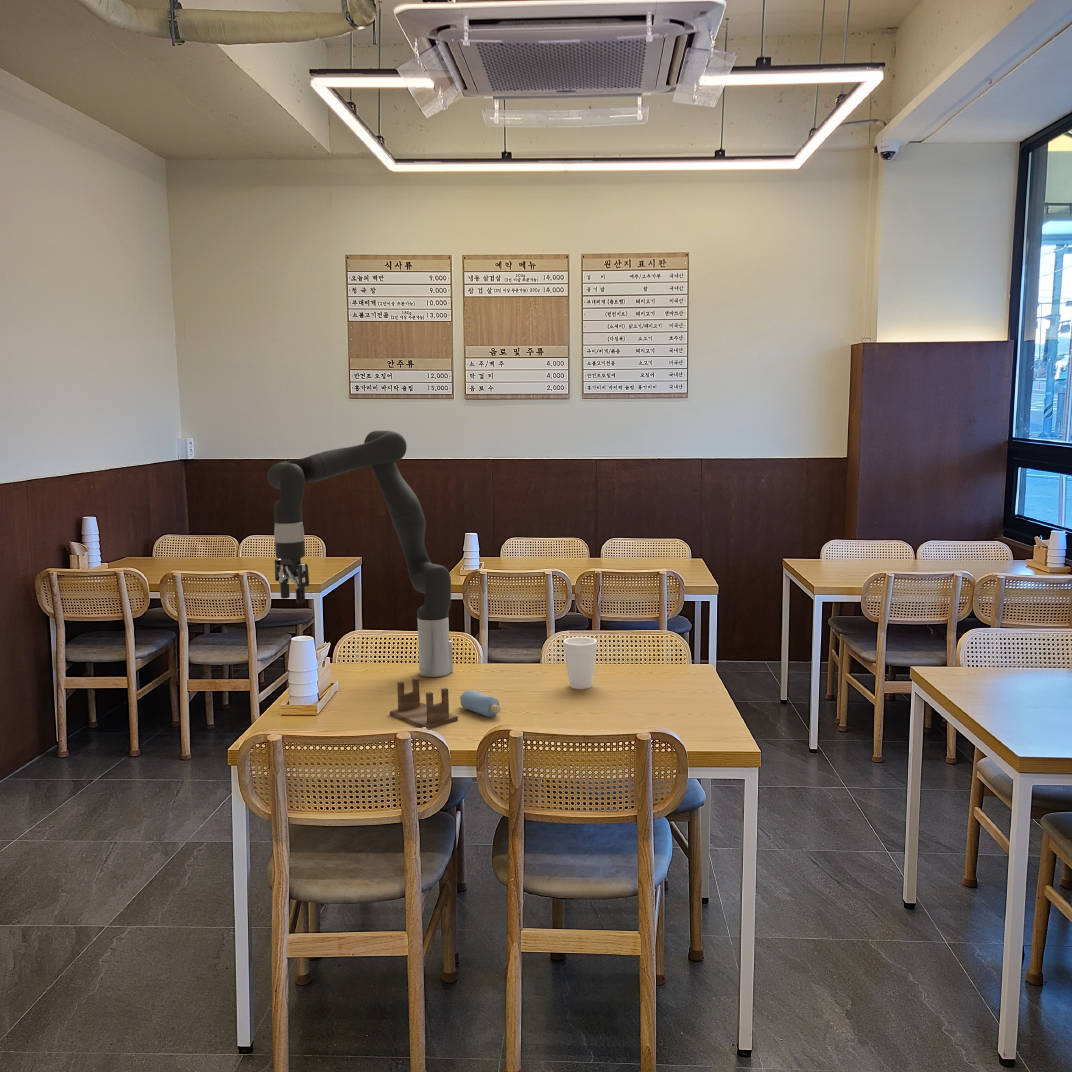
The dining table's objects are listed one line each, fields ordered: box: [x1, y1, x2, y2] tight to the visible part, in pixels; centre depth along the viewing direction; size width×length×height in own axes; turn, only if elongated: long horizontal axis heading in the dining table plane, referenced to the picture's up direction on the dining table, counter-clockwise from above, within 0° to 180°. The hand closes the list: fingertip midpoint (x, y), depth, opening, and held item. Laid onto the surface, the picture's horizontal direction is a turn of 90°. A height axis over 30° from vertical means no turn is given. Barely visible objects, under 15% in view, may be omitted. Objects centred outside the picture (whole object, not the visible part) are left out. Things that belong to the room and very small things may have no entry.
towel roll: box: [459, 689, 501, 718], centre depth 243 cm, size 14×5×5 cm, turn 42°
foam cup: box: [563, 636, 598, 690], centre depth 264 cm, size 10×9×13 cm
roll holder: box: [389, 677, 459, 729], centre depth 239 cm, size 16×10×8 cm, turn 42°
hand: (292, 600), depth 246 cm, fingers open, 8 cm apart
